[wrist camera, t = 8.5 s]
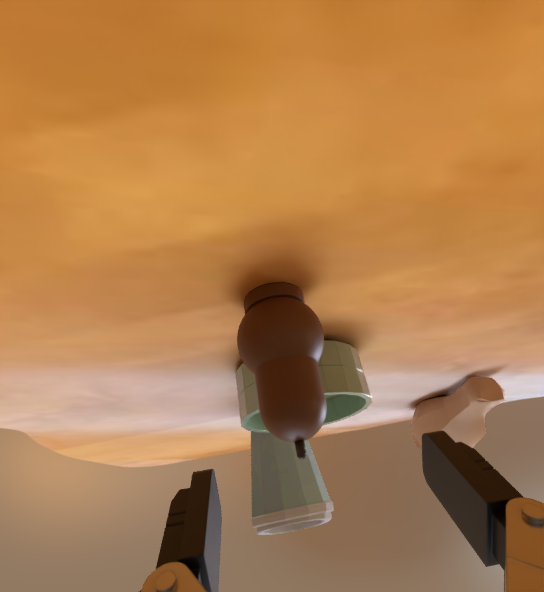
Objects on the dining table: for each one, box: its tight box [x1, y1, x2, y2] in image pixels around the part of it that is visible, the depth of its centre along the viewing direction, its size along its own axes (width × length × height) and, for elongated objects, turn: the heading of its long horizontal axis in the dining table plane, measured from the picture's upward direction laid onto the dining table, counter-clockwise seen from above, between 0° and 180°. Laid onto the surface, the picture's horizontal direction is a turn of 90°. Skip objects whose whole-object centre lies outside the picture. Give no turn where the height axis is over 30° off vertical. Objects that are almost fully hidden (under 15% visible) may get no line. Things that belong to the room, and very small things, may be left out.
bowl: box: [236, 340, 372, 433], centre depth 37 cm, size 13×13×6 cm
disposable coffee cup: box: [251, 431, 334, 535], centre depth 49 cm, size 11×11×15 cm
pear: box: [237, 283, 327, 460], centre depth 24 cm, size 6×6×11 cm
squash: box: [411, 376, 504, 449], centre depth 60 cm, size 11×20×9 cm, turn 174°
